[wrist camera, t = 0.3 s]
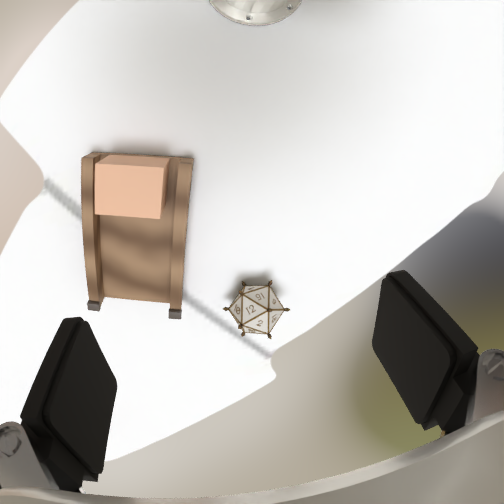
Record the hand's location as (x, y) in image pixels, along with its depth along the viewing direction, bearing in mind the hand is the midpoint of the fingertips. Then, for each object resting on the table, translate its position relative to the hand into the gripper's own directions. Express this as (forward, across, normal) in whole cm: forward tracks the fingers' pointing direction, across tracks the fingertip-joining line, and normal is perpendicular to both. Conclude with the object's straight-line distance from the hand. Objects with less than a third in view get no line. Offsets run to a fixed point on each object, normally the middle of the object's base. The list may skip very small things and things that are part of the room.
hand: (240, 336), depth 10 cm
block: (+33, +10, +1) cm, 35 cm away
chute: (+35, +12, +9) cm, 38 cm away
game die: (+35, -3, +22) cm, 41 cm away
